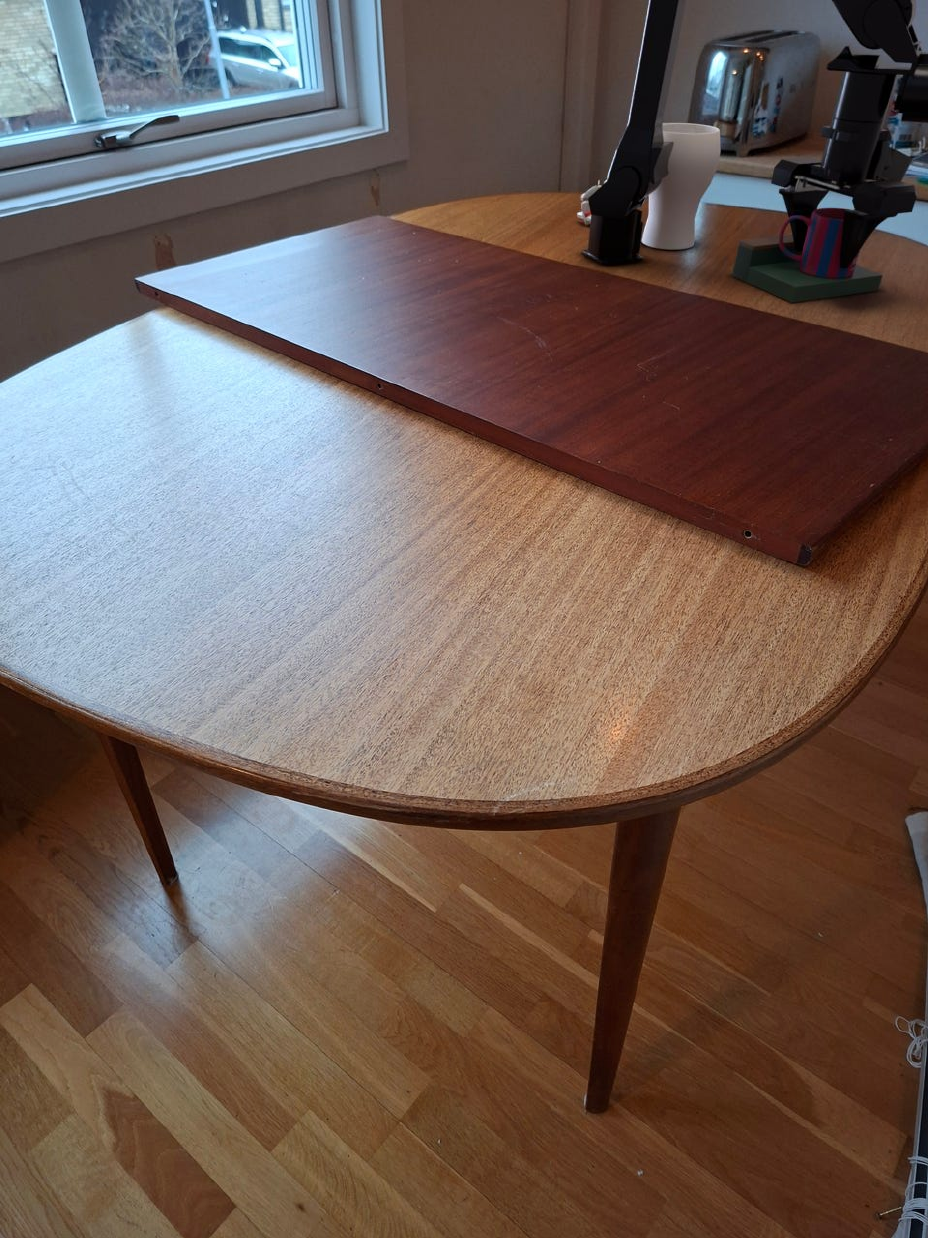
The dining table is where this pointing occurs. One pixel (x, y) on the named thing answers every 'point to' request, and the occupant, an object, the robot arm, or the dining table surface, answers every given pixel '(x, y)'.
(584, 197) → the toy airplane
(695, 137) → the cup
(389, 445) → the dining table surface
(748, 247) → the green l-shaped stand
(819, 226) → the cup
